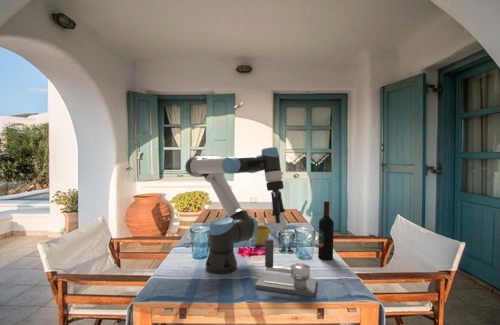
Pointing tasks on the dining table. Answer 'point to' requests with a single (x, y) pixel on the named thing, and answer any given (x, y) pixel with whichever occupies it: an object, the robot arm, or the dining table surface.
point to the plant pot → (262, 235)
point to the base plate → (286, 284)
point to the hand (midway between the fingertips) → (281, 228)
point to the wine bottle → (326, 235)
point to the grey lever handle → (296, 270)
